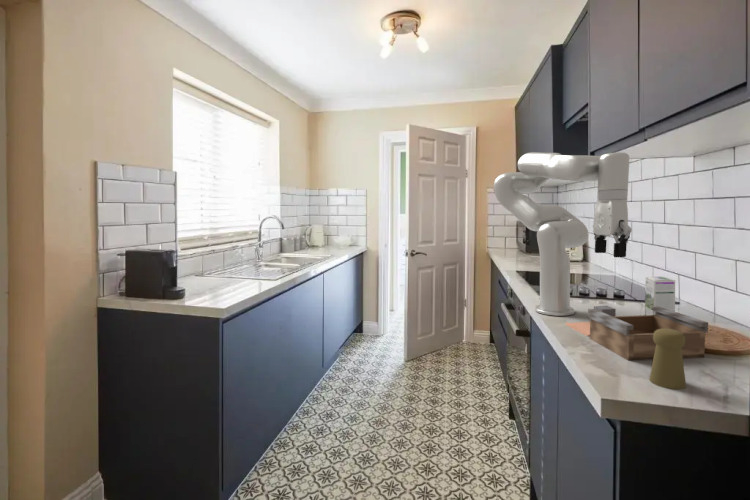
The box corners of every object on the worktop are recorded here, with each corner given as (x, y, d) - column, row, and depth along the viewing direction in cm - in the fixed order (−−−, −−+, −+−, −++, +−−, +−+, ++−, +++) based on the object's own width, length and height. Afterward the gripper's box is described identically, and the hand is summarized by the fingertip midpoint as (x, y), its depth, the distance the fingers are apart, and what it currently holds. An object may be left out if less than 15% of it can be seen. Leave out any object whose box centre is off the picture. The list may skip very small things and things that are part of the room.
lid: (565, 326, 121) (565, 304, 120) (618, 323, 121) (619, 301, 121) (587, 338, 109) (588, 314, 108) (647, 335, 109) (647, 311, 109)
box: (587, 338, 107) (588, 308, 106) (656, 335, 107) (657, 306, 106) (625, 360, 91) (626, 325, 90) (706, 357, 91) (708, 322, 90)
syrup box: (675, 328, 113) (677, 279, 111) (652, 328, 114) (654, 279, 112) (664, 323, 118) (666, 276, 117) (643, 322, 119) (644, 276, 118)
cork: (674, 391, 75) (676, 336, 74) (642, 380, 80) (644, 328, 79) (693, 385, 77) (695, 331, 76) (660, 374, 83) (662, 324, 82)
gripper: (583, 197, 121) (581, 251, 123) (616, 196, 104) (614, 259, 106) (608, 196, 121) (605, 251, 123) (645, 195, 104) (641, 258, 106)
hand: (609, 254), depth 114 cm, fingers open, 9 cm apart
